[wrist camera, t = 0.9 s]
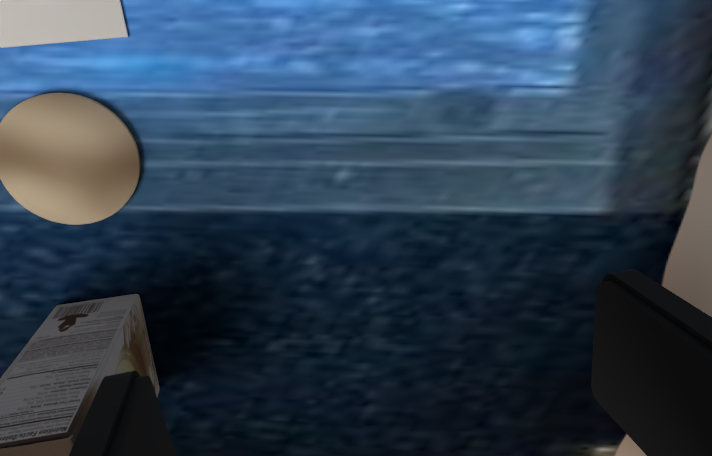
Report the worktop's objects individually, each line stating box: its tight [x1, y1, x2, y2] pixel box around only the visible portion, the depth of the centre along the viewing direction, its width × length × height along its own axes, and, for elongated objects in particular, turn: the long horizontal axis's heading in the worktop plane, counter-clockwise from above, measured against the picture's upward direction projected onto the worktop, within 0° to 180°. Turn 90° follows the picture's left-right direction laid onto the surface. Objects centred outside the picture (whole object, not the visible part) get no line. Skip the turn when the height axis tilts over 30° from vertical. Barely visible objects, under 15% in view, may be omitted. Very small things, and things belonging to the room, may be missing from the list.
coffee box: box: [0, 294, 159, 456], centre depth 34 cm, size 9×6×16 cm
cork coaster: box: [0, 93, 141, 225], centre depth 36 cm, size 9×9×1 cm
